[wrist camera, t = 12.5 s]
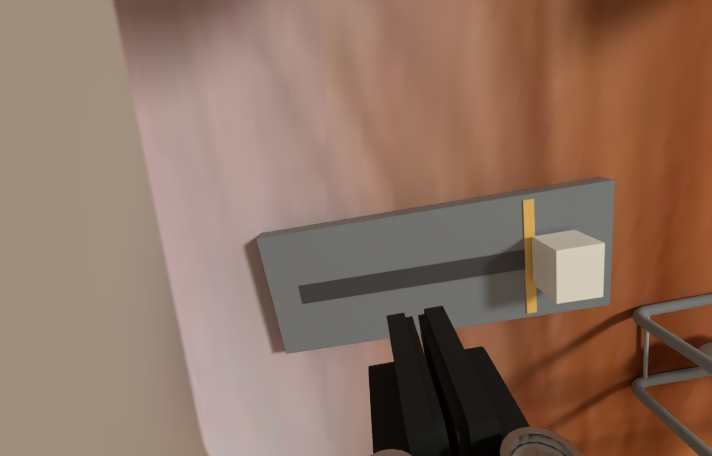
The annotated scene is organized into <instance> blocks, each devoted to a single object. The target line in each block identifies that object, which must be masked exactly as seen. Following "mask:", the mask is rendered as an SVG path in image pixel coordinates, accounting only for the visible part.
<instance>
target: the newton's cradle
mask: <svg viewBox="0 0 712 456" xmlns="http://www.w3.org/2000/svg"><path fill="white" fill-rule="evenodd" d="M707 305H712V293H710V294H705V295H699V296H694V297H689V298H683V299H678V300H672V301H667V302H661V303H656V304H650V305H645V306H641V307H638V308H637V309H636V310H634V312H633V319H634V321H635V322H636V323H637V324H638V325H639V326H640V327H642V328H643V329H644V360H643V376H641V377H638V378H636V379H635V380H634V381H633V382H632V385H631V388H632V391H633V393H634V394H635V396H636V397H637V398H638V399H639V400H640V401H641V402H642V403H643V404H644V405H645V406H646V407H648V408H649V409H650V410H651V411H652V412H653V413H654V414H655V415H656V416H657V417H658V418H659V419H660V420H662V421H663V422H664V423H665V424H666V425H667V426H668V427H669V428H670V429H671V430H672V431H673V432H674V433H675V434H677V435H678V436H679V437H680V438H681V439H682V440H683V441H684V442H685V443H686V444H687V445H688V446H689V447H691V448H692V449H693V450H694V451H695V452H696V453H697V454H698V455H699V456H712V450H711V449H710V448H709V447H708V446H707V445H705V444H704V443H703V442H702V441H701V440H700V439H699V438H698V437H696V436H695V435H694V434H693V433H692V432H691V431H690V430H688V429H687V428H686V427H685V426H684V425H683V424H682V423H681V422H679V421H678V420H677V419H676V418H675V417H674V416H673V415H671V414H670V413H669V412H668V411H667V410H666V409H665V408H664V407H662V406H661V405H660V404H659V403H658V402H657V401H656V400H654V399H653V398H652V397H651V396H650V395H649V394H648V393H647V392H646V391H645V390H644V388H645V387H648V386H654V385H660V384H666V383H671V382H677V381H683V380H689V379H695V378H701V377H706V376H712V342H709V343H706V344H704V345H702V346H701V347H700V348H699V349H696V348H695V347H693V346H691V345H690V344H688V343H687V342H685V341H683V340H682V339H680V338H679V337H677V336H675V335H674V334H672V333H671V332H669V331H667V330H666V329H664V328H663V327H661V326H659V325H658V324H656V323H655V322H653V321H651V320H650V319H649V317H650V316H652V315H657V314H663V313H668V312H674V311H679V310H685V309H690V308H696V307H701V306H707ZM649 333H651V334H652V335H654V336H655V337H657V338H658V339H660V340H661V341H663V342H664V343H665V344H667V345H668V346H670V347H671V348H673V349H674V350H676V351H677V352H679V353H680V354H682V355H683V356H685V357H686V358H688V359H689V360H691V361H692V362H694V363H695V364H697V365H698V367H692V368H686V369H680V370H675V371H669V372H663V373H657V374H651V375H648V347H649Z"/></svg>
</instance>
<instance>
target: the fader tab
mask: <svg viewBox="0 0 712 456" xmlns="http://www.w3.org/2000/svg"><path fill="white" fill-rule="evenodd" d="M604 259H605V243H604V242H602V241H599V240H597V239H595V238H592V237H590V236H588V235H586V234H583V233H581V232H579V231H576V230H569V231H563V232H557V233H551V234H544V235H538V236H532V260H533V284H534V285H535V286H536V287H537V288H538V289H539V290H541V291H542V292H543V293H544V294H545V295H547V296H548V297H549V298H550V299H551V300H553V301H554V302H555V303H556V304H560V303H566V302H573V301H580V300H586V299H593V298H599V297H603V288H604Z"/></svg>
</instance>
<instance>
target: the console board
mask: <svg viewBox="0 0 712 456" xmlns="http://www.w3.org/2000/svg"><path fill="white" fill-rule="evenodd" d="M614 189H615V180H613V179H608V178H602V177H597V178H591V179H585V180H579V181H573V182H567V183H561V184H555V185H549V186H543V187H537V188H531V189H525V190H519V191H513V192H507V193H501V194H495V195H489V196H483V197H477V198H471V199H465V200H459V201H453V202H447V203H441V204H435V205H429V206H423V207H416V208H410V209H404V210H398V211H392V212H386V213H380V214H374V215H368V216H362V217H356V218H350V219H344V220H338V221H332V222H326V223H320V224H314V225H308V226H302V227H296V228H290V229H284V230H278V231H272V232H266V233H261V235H260V236H259V237H258V238H257V239H256V240H257V244H258V248H259V252H260V255H261V259H262V263H263V267H264V271H265V275H266V278H267V282H268V286H269V290H270V294H271V297H272V301H273V305H274V309H275V313H276V317H277V320H278V324H279V328H280V332H281V336H282V339H283V343H284V347H285V351H286V354H288V353H295V352H302V351H308V350H315V349H321V348H328V347H334V346H341V345H348V344H354V343H361V342H367V341H374V340H381V339H387V338H390V335H389V329H388V323H387V317H386V316H387V315H393V314H398V313H404V314H405V317H410V316H413V320H414V323H415V326H416V329H417V333H418V334H420V333H421V331H420V326H419V320H418V315H421V314H424V309H426V308H431V307H437V306H443V307H444V309H445V311H446V313H447V315H448V317H449V319H450V321H451V323H452V325H453V327H454V328H460V327H466V326H473V325H479V324H486V323H493V322H499V321H506V320H512V319H519V318H525V317H532V316H539V315H545V314H552V313H558V312H565V311H572V310H578V309H585V308H591V307H598V306H605V305H610V290H611V264H612V239H613V214H614ZM569 230H576V231H579V232H581V233H583V234H586V235H588V236H590V237H592V238H595V239H597V240H599V241H602V242H604V243H605V259H604V288H603V297H599V298H593V299H586V300H580V301H573V302H566V303H560V304H556V303H555V302H554V301H553V300H551V299H550V298H549V297H548V296H547V295H545V294H544V293H543V292H542V291H541V290H539V289H538V288H537V287H536V286H535V285H534V284H533V260H532V236H538V235H544V234H551V233H557V232H563V231H569Z"/></svg>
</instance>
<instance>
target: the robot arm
mask: <svg viewBox="0 0 712 456" xmlns="http://www.w3.org/2000/svg"><path fill="white" fill-rule="evenodd" d="M386 317H387V323H388V329H389V335H390V341H391V346H392V352H393V358H394V362H390V363H384V364H378V365H373V366H369V388H370V405H371V422H372V439H373V454H372V455H370V456H584V455H583V454H582V453H581V452H580V451H579V450H578V449H577V448H576V447H575V446H574V445H573V444H572V443H571V442H570V441H569V440H567V439H566V438H564V437H562V436H560V435H559V434H557V433H555V432H553V431H550V430H547V429H544V428H538V427H530V426H529V424H528V422H527V421H526V419H525V417H524V416H523V414H522V412H521V410H520V409H519V407H518V405H517V403H516V402H515V400H514V398H513V397H512V395H511V393H510V391H509V390H508V388H507V386H506V385H505V383H504V381H503V379H502V378H501V376H500V374H499V373H498V371H497V369H496V367H495V366H494V364H493V362H492V360H491V359H490V357H489V355H488V354H487V352H486V350H485V349H484V348H483V347H482V346H481V347H475V348H470V349H464V348H463V346H462V344H461V342H460V340H459V338H458V336H457V334H456V331H455V329H454V327H453V325H452V323H451V321H450V319H449V317H448V315H447V313H446V311H445V309H444V307H443V306H437V307H431V308H426V309H424V314H421V315H418V320H419V326H420V331H421V337H422V343H423V349H424V352H423V349H422V346H421V343H420V339H419V336H418V333H417V329H416V326H415V323H414V320H413V316H410V317H405V314H404V313H398V314H393V315H387V316H386ZM424 355H425V356H424Z"/></svg>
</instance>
